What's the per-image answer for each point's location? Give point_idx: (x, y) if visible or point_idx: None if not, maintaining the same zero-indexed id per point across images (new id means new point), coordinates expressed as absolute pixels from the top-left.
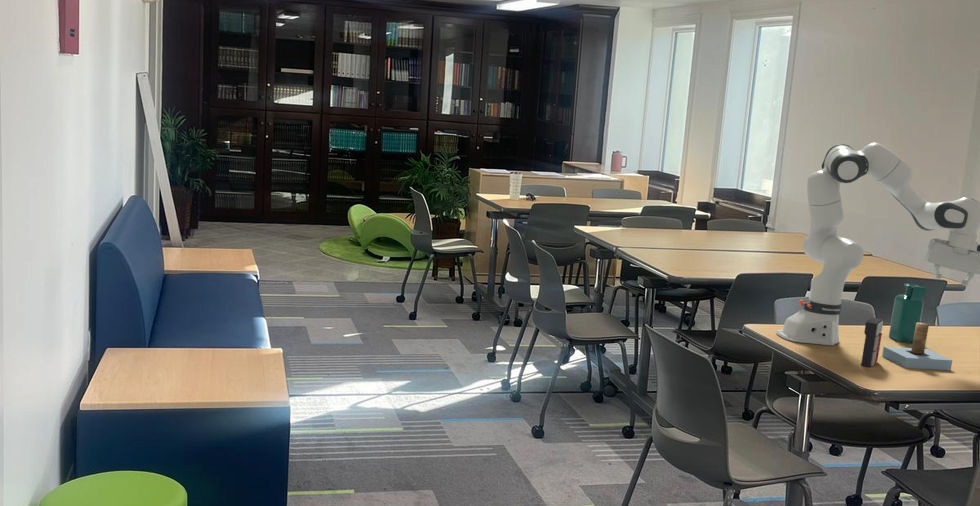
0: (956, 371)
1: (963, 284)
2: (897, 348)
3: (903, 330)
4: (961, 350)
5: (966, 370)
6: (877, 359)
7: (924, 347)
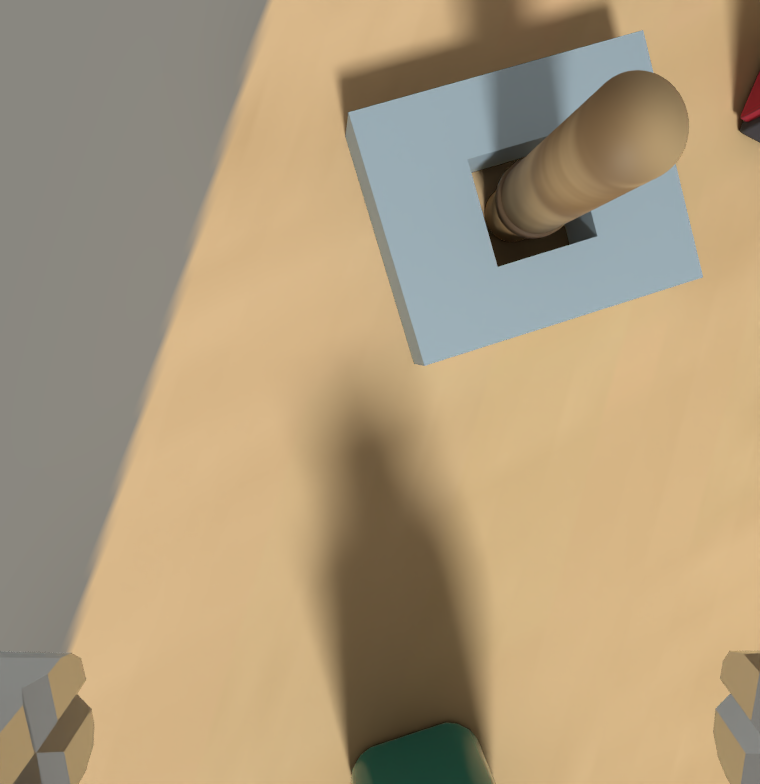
0: (316, 124)
1: (70, 653)
2: (628, 267)
3: (466, 770)
4: (108, 719)
5: (242, 182)
6: (746, 109)
7: (523, 158)
